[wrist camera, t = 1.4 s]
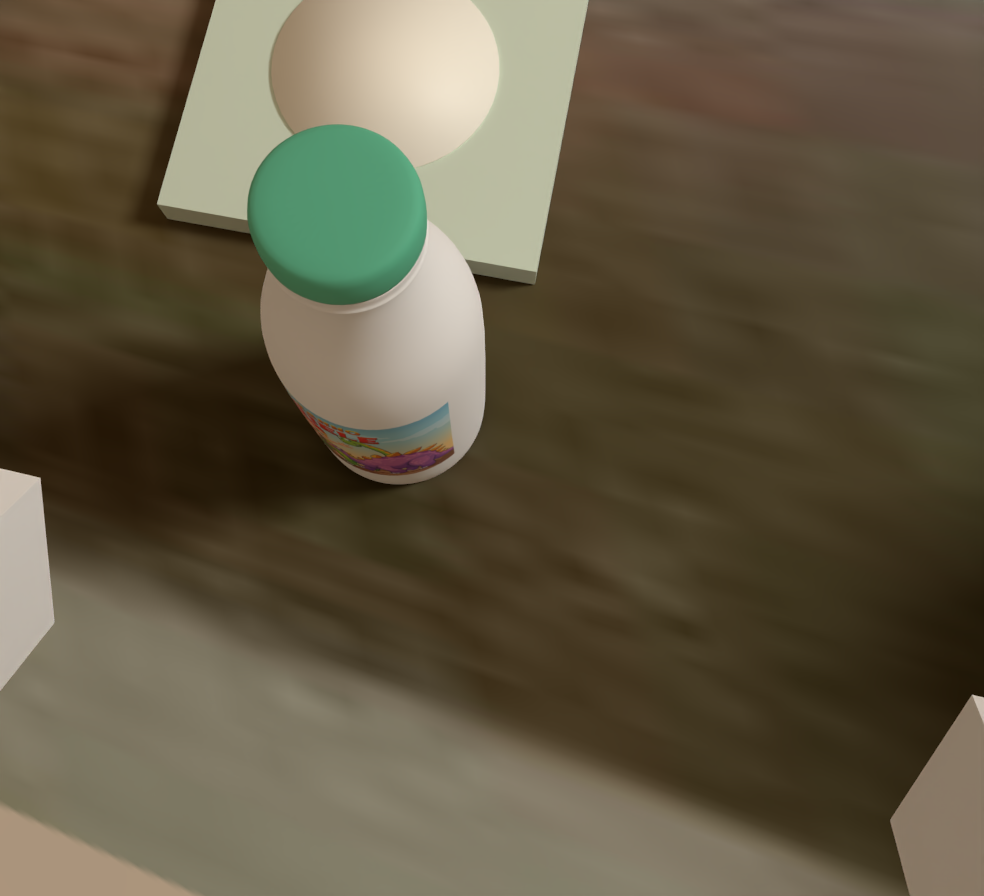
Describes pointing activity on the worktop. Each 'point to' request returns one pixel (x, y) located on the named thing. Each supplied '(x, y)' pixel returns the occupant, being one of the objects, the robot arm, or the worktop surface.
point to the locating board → (390, 108)
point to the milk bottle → (367, 305)
